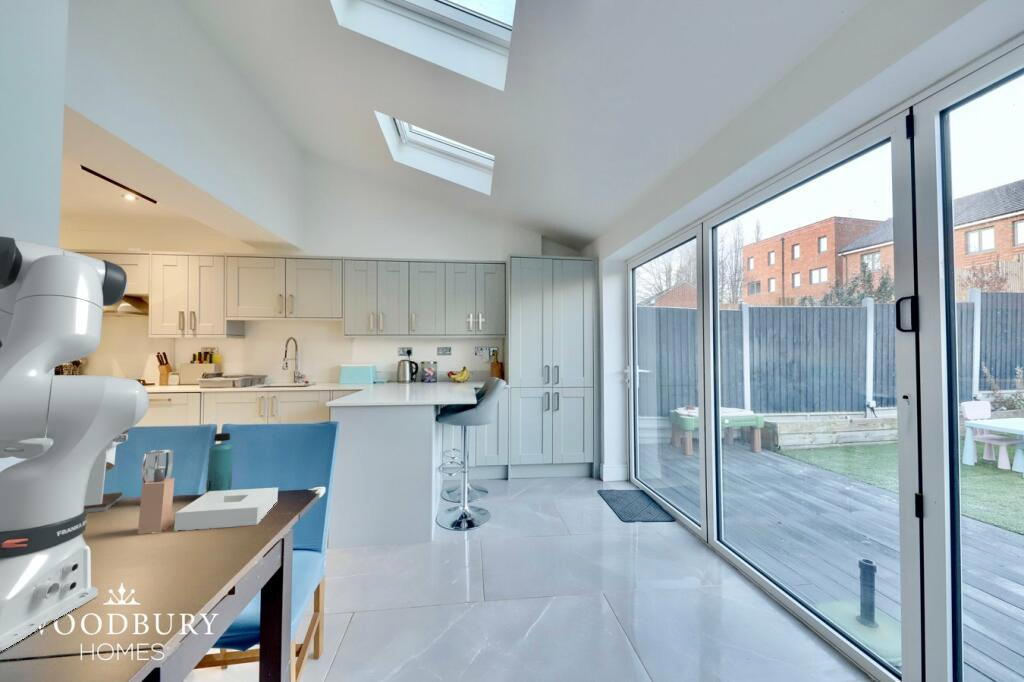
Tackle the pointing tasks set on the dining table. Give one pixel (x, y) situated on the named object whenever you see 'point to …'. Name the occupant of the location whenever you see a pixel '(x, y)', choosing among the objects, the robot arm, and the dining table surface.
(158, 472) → the plug
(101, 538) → the dining table surface
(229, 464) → the beverage bottle
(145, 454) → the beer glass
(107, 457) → the display case
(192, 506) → the socket
